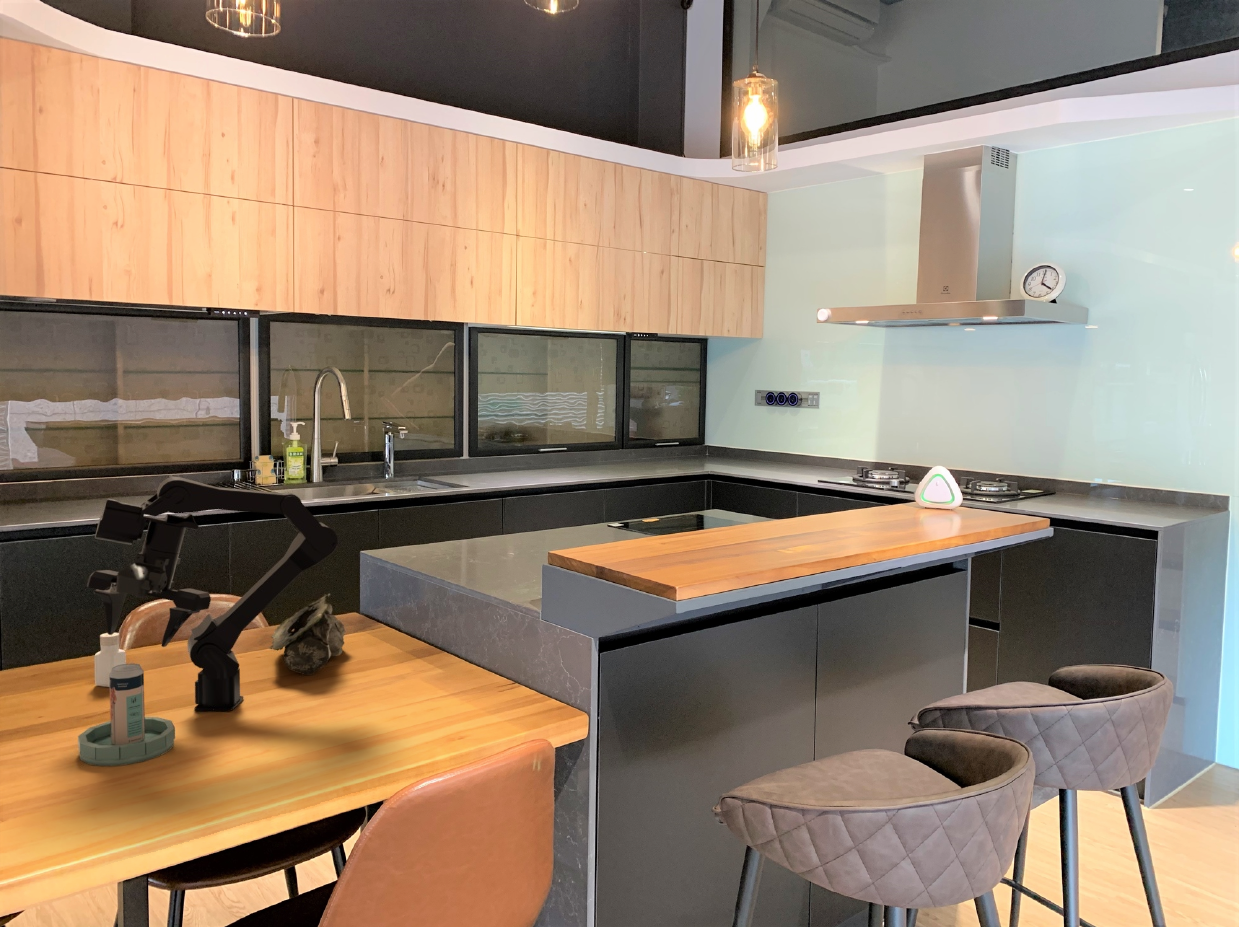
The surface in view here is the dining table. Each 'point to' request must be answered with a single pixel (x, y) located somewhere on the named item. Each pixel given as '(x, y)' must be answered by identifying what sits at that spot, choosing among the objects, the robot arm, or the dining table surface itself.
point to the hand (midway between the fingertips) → (137, 640)
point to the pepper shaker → (108, 658)
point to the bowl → (104, 753)
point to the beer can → (127, 704)
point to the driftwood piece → (310, 637)
